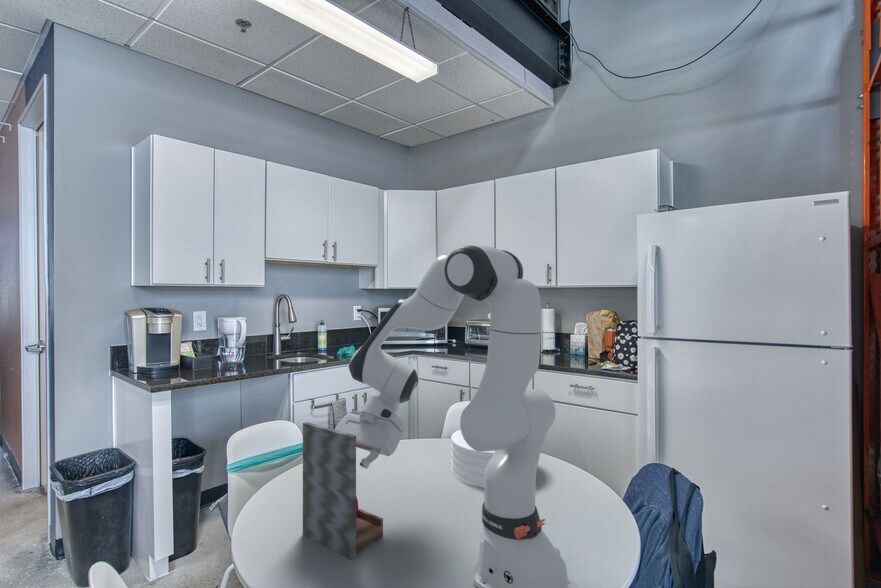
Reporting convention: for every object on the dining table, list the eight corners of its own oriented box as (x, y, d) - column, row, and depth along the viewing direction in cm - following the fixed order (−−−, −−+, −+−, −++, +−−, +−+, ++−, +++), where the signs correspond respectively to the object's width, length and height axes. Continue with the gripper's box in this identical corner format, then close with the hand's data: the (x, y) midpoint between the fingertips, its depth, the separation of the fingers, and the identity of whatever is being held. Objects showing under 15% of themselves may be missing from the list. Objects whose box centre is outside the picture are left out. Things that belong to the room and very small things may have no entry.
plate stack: (486, 497, 133) (486, 459, 133) (435, 466, 156) (435, 433, 156) (551, 476, 148) (551, 441, 148) (496, 451, 172) (496, 421, 172)
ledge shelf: (385, 537, 111) (386, 425, 111) (352, 559, 102) (352, 436, 101) (337, 516, 121) (337, 413, 121) (302, 534, 112) (302, 423, 112)
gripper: (344, 403, 125) (315, 448, 117) (399, 414, 113) (372, 465, 105) (356, 415, 129) (329, 460, 121) (410, 428, 117) (385, 478, 109)
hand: (349, 462), depth 113 cm, fingers open, 8 cm apart
